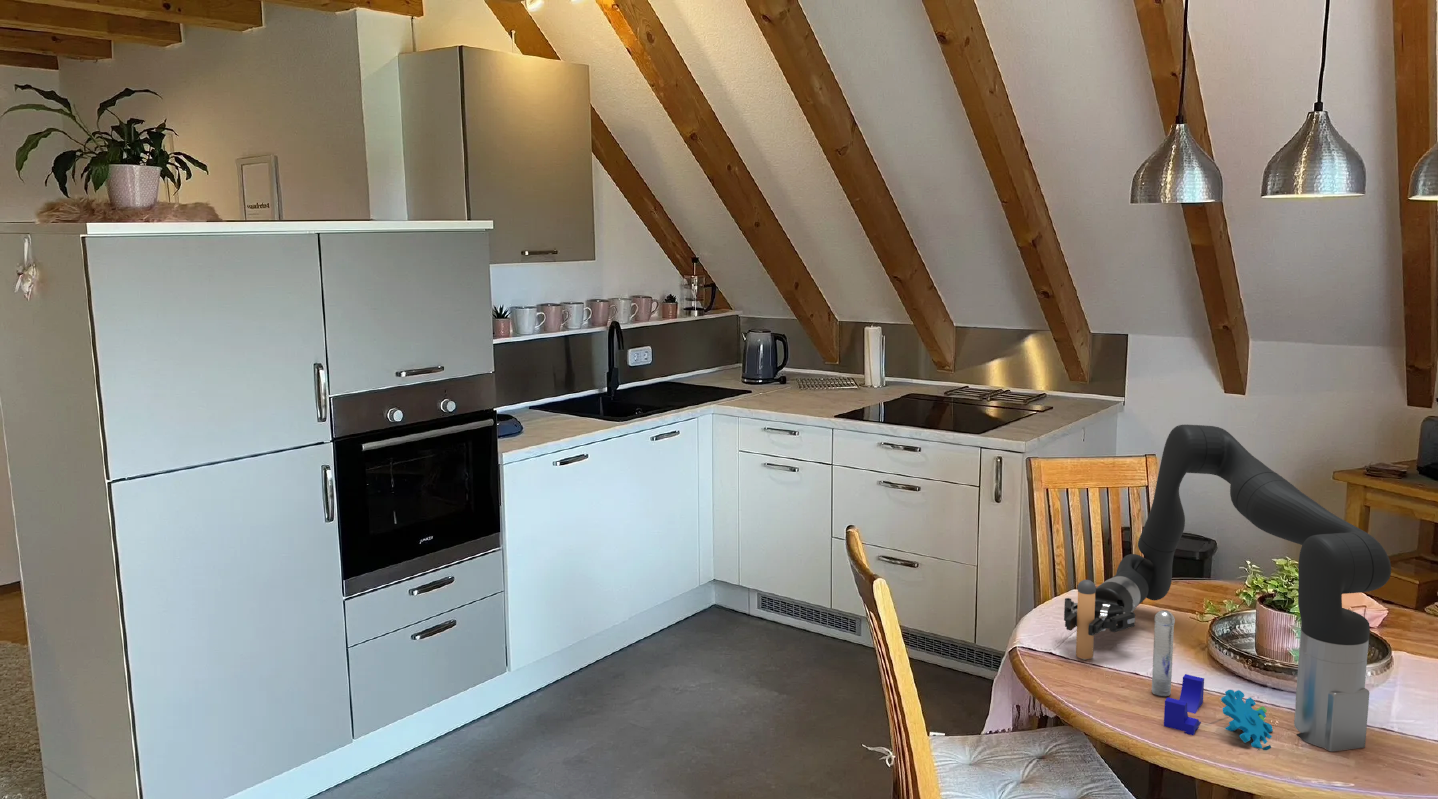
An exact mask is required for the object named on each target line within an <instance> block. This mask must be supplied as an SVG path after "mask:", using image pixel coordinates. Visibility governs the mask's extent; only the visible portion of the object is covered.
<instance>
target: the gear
mask: <svg viewBox="0 0 1438 799" xmlns="http://www.w3.org/2000/svg"><path fill="white" fill-rule="evenodd" d="M1224 693H1225V694H1224V696H1222V697H1221V698H1220V702H1222V703H1223V704H1224V705H1225V706H1224V707H1222V714H1223V715H1225V716H1227V717H1229V718H1231V719H1232V720H1230V721H1229V722H1228V724H1229V725H1228V726H1226V727H1224V729H1225V730H1226V731H1229V732H1235V731H1237V730H1242V733H1241V734H1239V738H1240V739H1241V741H1242V742H1243V743H1245V744H1246V743H1248V742H1249V741H1251V739H1252V740H1253V741H1252V742H1251V743H1250V744H1251V747H1252V748H1255V749H1256V748H1257V749H1256V751H1260V750H1263V751H1268V750H1271V749H1272V745H1271V744H1268V745H1267V746H1264V747H1263V745H1262V742H1263V744H1264V745H1266V744H1267V743H1268V740H1270V739H1272V737H1273V735H1271V734H1270V733H1272V732H1273V726H1272V724H1270V723H1268V722H1265V719H1266V718H1267V716H1266V713H1267V709H1266V707H1264V706H1260V707H1259V708H1257V709H1254V708H1253V706H1256V705H1257V704H1256V701H1255V700H1254V699H1253V698H1252V697H1251V696H1250V697H1248V698H1246V699H1245V701H1244V699H1243V698H1244V697H1245V693H1244V692H1243V691H1241V690H1239V689H1237V690H1236V691H1234V690H1233V689H1228V690H1226V691H1225V692H1224ZM1267 739H1268V740H1267ZM1261 741H1262V742H1261Z"/></svg>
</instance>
